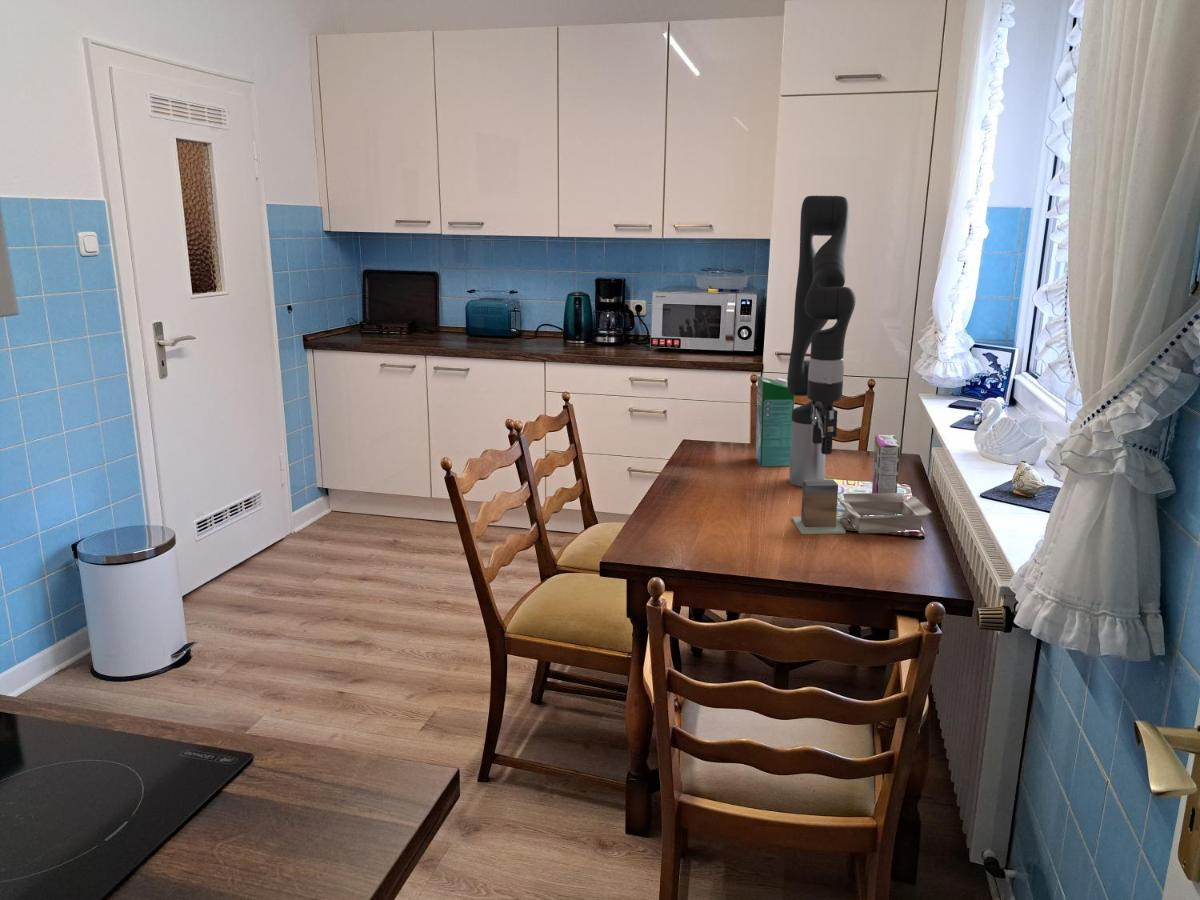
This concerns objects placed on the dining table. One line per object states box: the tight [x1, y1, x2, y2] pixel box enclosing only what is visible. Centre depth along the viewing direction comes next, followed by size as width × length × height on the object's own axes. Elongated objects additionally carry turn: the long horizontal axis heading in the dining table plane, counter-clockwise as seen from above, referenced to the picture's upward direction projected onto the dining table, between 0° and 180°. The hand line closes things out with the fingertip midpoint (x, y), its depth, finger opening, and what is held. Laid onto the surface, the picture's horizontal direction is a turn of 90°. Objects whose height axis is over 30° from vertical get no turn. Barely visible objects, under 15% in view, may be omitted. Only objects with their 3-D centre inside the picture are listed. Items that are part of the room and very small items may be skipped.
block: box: [800, 478, 839, 527], centre depth 197 cm, size 4×7×10 cm, turn 90°
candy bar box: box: [871, 434, 901, 493], centre depth 211 cm, size 11×5×16 cm, turn 168°
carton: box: [837, 492, 932, 534], centre depth 198 cm, size 16×18×5 cm
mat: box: [791, 516, 847, 535], centre depth 198 cm, size 10×10×1 cm
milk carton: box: [755, 376, 795, 467], centre depth 248 cm, size 9×9×25 cm
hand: (821, 448), depth 193 cm, fingers open, 8 cm apart
